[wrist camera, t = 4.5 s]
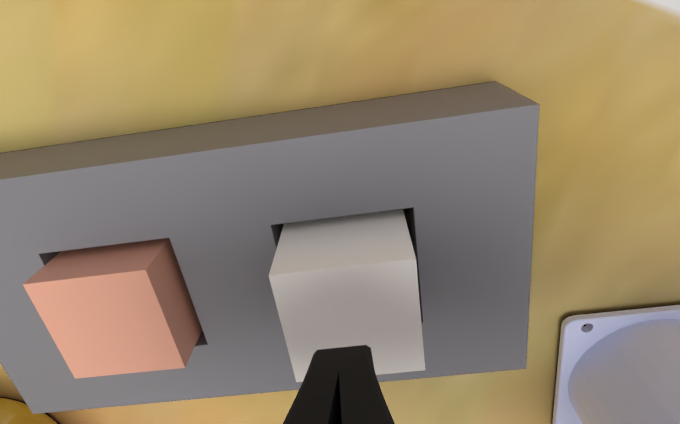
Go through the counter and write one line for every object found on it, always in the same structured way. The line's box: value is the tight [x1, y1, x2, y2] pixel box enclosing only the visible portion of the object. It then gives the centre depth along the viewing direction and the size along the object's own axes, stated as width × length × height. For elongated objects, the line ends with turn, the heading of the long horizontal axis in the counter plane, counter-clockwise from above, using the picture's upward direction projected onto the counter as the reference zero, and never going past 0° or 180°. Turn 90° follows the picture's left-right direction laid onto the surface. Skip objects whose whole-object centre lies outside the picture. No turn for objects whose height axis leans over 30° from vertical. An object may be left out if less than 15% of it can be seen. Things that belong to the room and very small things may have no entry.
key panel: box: [0, 81, 539, 414], centre depth 17 cm, size 20×10×4 cm, turn 98°
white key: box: [269, 209, 425, 382], centre depth 14 cm, size 4×4×4 cm
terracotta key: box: [23, 238, 202, 379], centre depth 16 cm, size 4×4×4 cm
